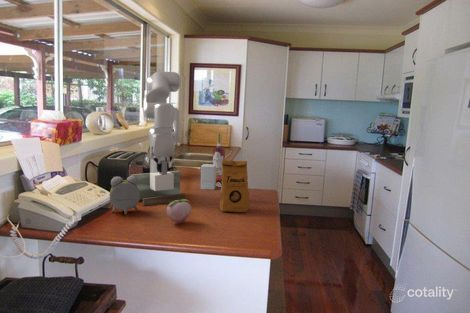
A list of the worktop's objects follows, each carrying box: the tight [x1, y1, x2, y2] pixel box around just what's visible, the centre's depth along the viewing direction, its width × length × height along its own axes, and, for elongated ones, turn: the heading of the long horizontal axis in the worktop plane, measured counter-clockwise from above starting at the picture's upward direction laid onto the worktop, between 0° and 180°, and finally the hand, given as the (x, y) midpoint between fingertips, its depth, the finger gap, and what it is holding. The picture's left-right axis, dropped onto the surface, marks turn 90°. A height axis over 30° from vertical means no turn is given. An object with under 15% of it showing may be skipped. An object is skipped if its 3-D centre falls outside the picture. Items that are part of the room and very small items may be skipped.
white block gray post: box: [149, 161, 174, 191], centre depth 159 cm, size 6×9×13 cm, turn 125°
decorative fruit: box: [166, 198, 192, 224], centre depth 130 cm, size 9×8×10 cm
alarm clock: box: [109, 175, 140, 216], centre depth 140 cm, size 12×7×15 cm, turn 111°
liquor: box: [212, 133, 226, 183], centre depth 204 cm, size 7×7×28 cm
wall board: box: [130, 170, 186, 207], centre depth 161 cm, size 11×24×12 cm, turn 125°
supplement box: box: [200, 163, 217, 191], centre depth 187 cm, size 7×7×13 cm
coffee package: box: [219, 159, 250, 213], centre depth 148 cm, size 10×12×22 cm
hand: (162, 171), depth 158 cm, fingers closed on white block gray post, 2 cm apart
